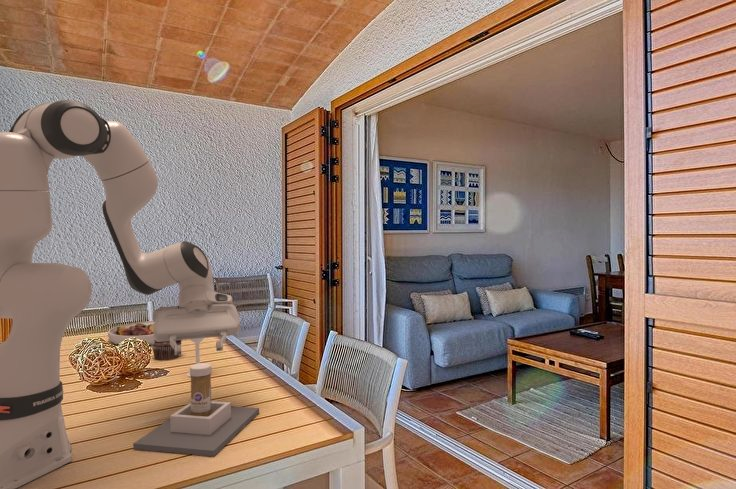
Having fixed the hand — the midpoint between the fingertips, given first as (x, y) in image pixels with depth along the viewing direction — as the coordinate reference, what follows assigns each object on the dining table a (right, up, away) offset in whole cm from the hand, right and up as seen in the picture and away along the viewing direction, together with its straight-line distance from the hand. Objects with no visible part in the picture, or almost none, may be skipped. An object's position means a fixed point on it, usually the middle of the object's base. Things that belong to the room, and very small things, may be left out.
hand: (199, 351), depth 110 cm
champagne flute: (-13, -15, +34) cm, 40 cm away
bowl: (-51, -14, +81) cm, 96 cm away
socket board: (+3, -16, -6) cm, 18 cm away
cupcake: (-31, -15, +53) cm, 63 cm away
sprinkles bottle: (+3, -15, -6) cm, 17 cm away
